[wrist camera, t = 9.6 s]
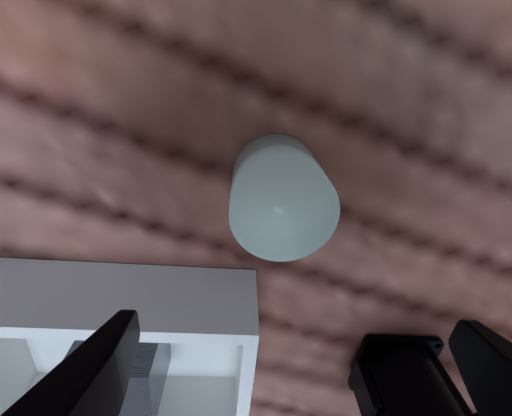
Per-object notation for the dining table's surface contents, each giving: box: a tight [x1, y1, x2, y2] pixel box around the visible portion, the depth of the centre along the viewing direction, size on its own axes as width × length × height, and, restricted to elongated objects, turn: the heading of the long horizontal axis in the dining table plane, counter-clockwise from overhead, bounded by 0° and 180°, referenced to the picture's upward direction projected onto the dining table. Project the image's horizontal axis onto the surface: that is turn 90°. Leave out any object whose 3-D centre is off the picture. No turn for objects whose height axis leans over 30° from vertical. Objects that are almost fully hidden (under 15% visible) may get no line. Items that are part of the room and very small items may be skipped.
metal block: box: [63, 340, 171, 416], centre depth 20 cm, size 5×5×5 cm
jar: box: [229, 134, 340, 262], centre depth 16 cm, size 5×5×5 cm
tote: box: [0, 258, 259, 416], centre depth 21 cm, size 17×11×6 cm, turn 85°
